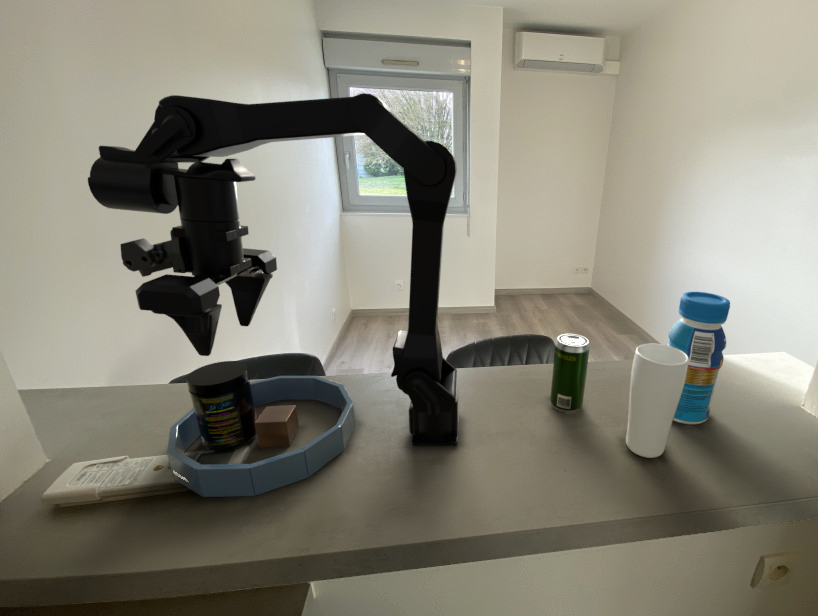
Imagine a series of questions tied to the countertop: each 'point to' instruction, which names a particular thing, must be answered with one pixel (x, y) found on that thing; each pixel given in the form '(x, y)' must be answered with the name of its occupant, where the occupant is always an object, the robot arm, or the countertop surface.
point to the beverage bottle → (699, 351)
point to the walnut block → (277, 426)
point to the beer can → (569, 372)
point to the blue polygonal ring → (275, 469)
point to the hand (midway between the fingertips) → (226, 339)
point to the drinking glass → (654, 397)
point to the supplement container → (223, 405)
